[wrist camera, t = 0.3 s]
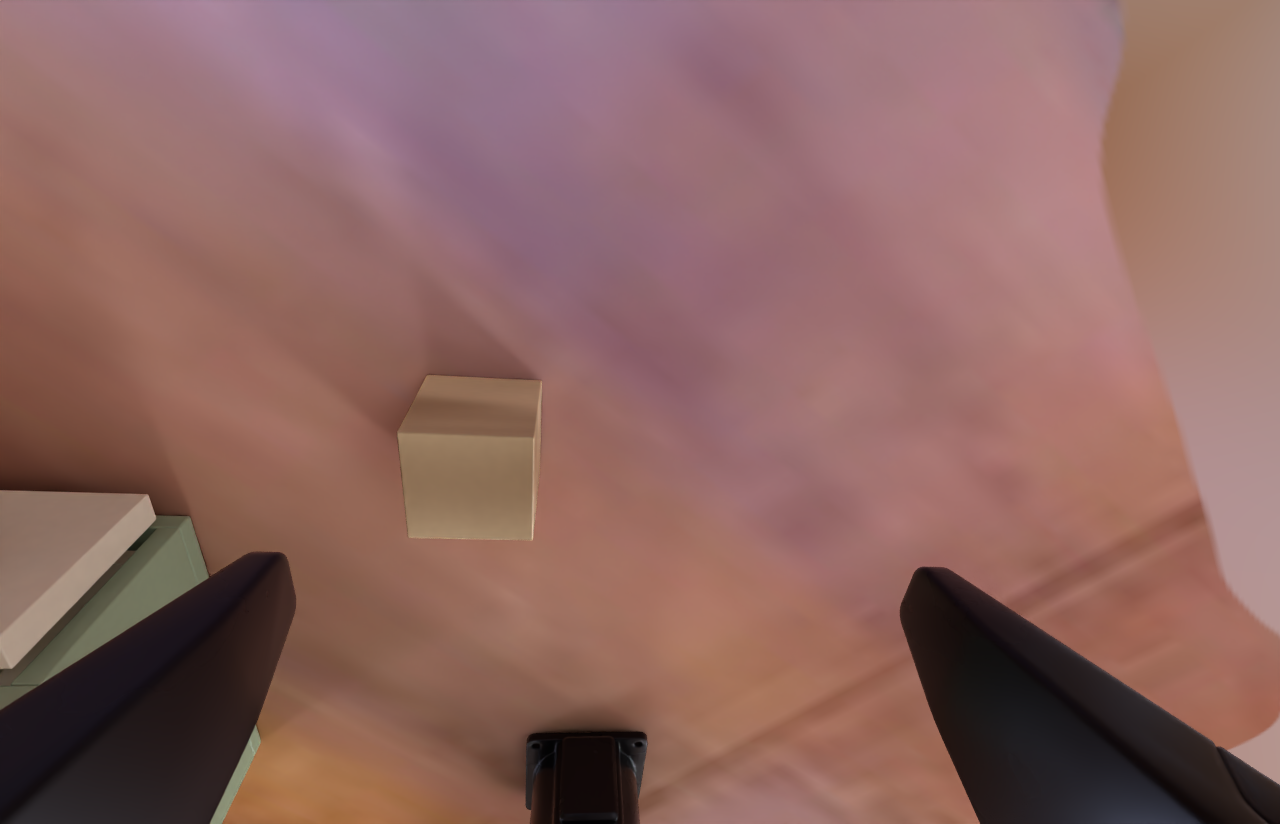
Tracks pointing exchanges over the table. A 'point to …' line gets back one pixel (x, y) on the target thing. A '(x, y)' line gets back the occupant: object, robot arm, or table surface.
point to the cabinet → (132, 615)
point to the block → (471, 458)
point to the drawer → (58, 562)
